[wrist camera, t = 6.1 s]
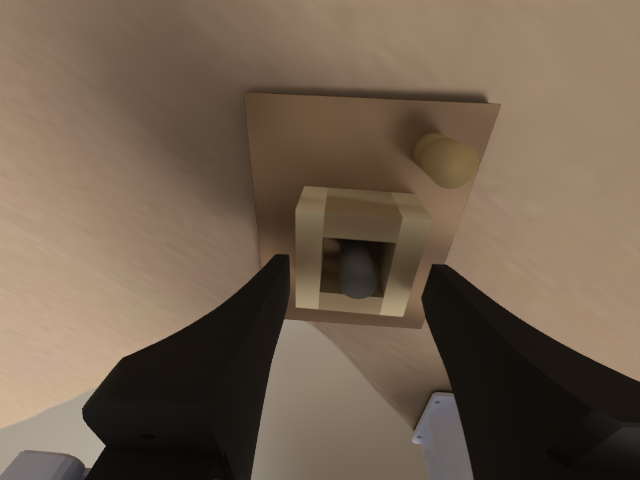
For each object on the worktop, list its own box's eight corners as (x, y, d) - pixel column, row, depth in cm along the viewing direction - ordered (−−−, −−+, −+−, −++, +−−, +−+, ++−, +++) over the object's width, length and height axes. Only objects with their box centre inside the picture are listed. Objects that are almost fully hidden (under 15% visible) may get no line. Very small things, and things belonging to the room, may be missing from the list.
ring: (392, 279, 16) (402, 316, 13) (303, 272, 16) (295, 307, 13) (414, 193, 13) (433, 219, 10) (304, 185, 13) (295, 209, 10)
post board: (417, 317, 19) (440, 385, 14) (269, 307, 19) (250, 370, 15) (489, 103, 12) (578, 112, 7) (250, 92, 12) (201, 94, 8)
